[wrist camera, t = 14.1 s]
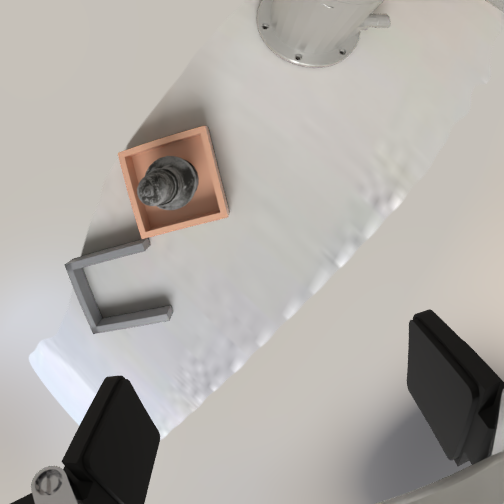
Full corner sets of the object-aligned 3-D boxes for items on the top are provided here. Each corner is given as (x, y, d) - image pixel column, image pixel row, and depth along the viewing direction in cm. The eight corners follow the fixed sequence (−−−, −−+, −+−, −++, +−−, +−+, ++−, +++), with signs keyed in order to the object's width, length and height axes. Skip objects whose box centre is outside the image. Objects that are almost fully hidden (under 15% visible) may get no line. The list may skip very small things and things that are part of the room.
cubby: (148, 237, 39) (142, 243, 37) (173, 311, 42) (169, 320, 40) (73, 258, 40) (64, 264, 37) (99, 325, 43) (93, 333, 40)
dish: (208, 127, 35) (205, 125, 33) (229, 212, 38) (228, 217, 36) (126, 152, 36) (117, 152, 33) (149, 233, 39) (141, 239, 36)
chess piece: (143, 184, 37) (101, 198, 25) (173, 145, 35) (140, 142, 24) (180, 215, 38) (152, 241, 26) (211, 176, 37) (195, 187, 25)
